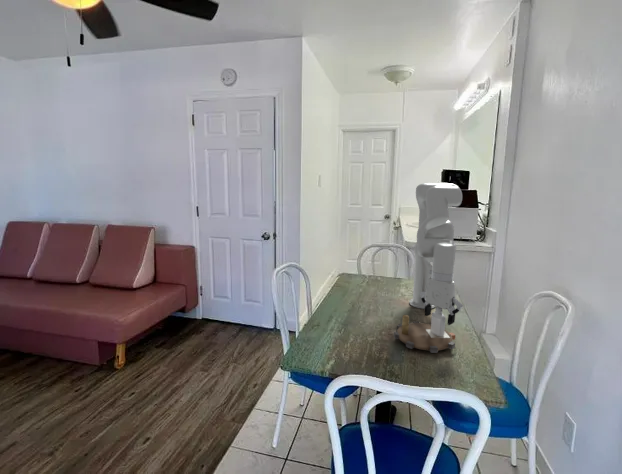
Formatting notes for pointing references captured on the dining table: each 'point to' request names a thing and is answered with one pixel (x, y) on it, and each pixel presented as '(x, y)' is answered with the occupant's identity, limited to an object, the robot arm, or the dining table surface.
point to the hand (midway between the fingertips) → (438, 319)
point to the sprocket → (423, 336)
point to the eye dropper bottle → (438, 322)
